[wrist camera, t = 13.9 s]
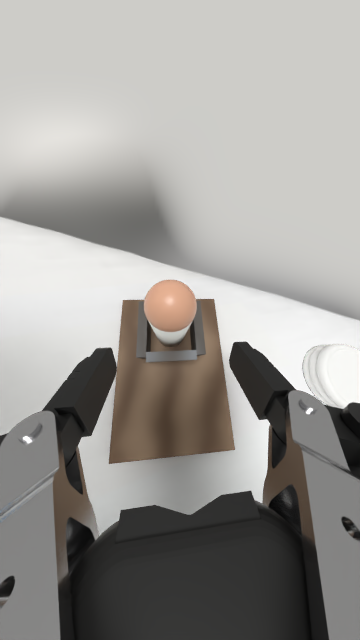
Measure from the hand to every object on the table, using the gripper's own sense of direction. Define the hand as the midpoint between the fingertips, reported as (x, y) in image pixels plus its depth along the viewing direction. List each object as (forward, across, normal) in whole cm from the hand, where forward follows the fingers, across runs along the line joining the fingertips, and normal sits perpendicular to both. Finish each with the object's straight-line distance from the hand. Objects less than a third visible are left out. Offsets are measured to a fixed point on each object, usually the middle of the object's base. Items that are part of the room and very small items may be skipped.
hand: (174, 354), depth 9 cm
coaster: (+7, -27, +13) cm, 31 cm away
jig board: (+9, 0, +10) cm, 13 cm away
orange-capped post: (+12, 0, +6) cm, 13 cm away
